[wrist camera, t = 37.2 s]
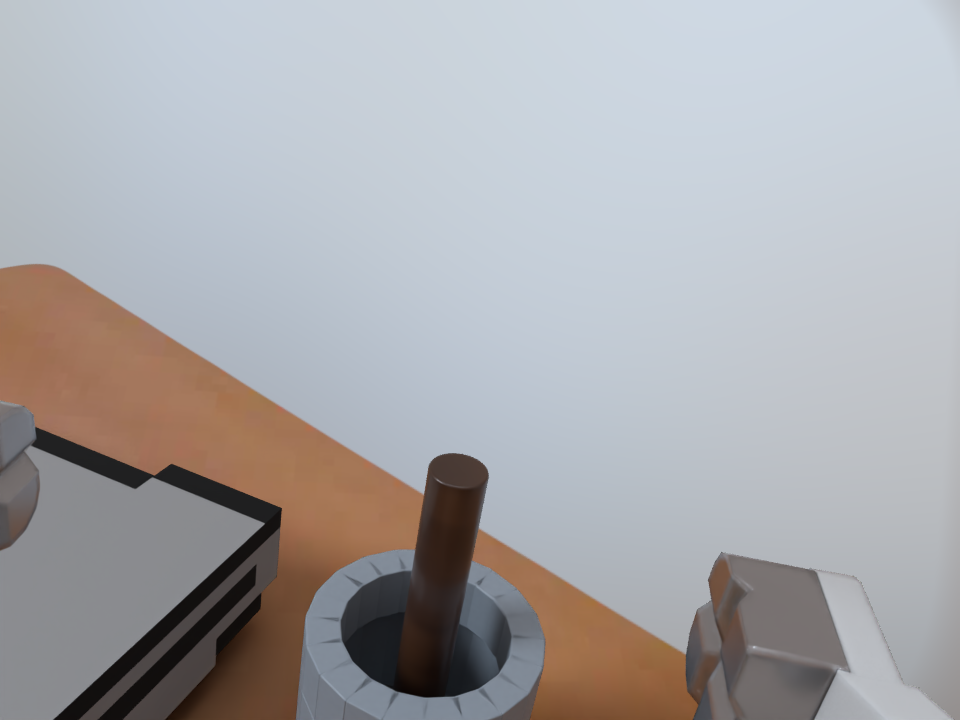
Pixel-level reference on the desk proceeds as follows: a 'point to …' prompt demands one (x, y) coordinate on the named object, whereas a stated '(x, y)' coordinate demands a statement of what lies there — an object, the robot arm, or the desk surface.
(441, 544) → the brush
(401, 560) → the hollow cylinder
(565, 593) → the desk surface
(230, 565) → the game console
